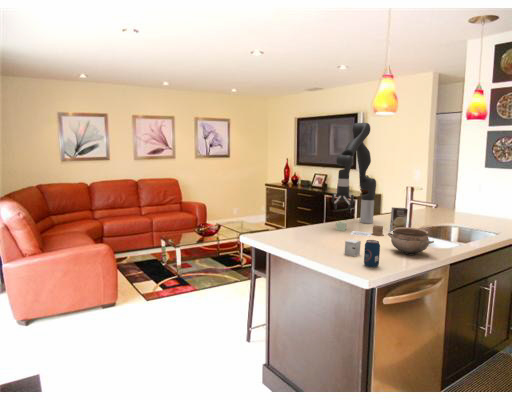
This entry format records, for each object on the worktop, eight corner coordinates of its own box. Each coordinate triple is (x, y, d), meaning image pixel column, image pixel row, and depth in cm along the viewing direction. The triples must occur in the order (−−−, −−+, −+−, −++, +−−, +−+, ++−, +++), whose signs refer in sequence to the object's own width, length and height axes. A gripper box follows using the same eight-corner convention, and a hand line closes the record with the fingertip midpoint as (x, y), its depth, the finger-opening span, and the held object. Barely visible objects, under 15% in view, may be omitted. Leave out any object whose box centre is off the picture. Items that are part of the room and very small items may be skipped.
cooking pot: (378, 251, 214) (380, 229, 212) (395, 245, 227) (396, 224, 225) (424, 261, 196) (426, 237, 194) (439, 254, 209) (441, 232, 207)
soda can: (360, 264, 189) (361, 240, 188) (371, 262, 192) (373, 239, 190) (370, 268, 183) (371, 243, 181) (381, 266, 186) (383, 242, 184)
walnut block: (373, 233, 256) (374, 225, 255) (382, 234, 254) (382, 226, 253) (372, 235, 251) (372, 226, 250) (381, 236, 249) (381, 227, 248)
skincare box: (344, 254, 207) (344, 240, 206) (349, 252, 211) (350, 238, 210) (354, 256, 203) (355, 242, 202) (360, 254, 207) (360, 240, 206)
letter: (352, 231, 263) (352, 230, 263) (372, 233, 257) (372, 232, 257) (349, 234, 252) (349, 234, 252) (369, 237, 247) (369, 236, 246)
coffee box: (391, 232, 260) (393, 208, 258) (389, 230, 267) (391, 207, 265) (406, 233, 260) (407, 209, 257) (403, 231, 266) (405, 207, 264)
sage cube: (337, 229, 268) (338, 221, 268) (346, 230, 266) (346, 222, 265) (336, 230, 263) (336, 222, 263) (344, 231, 261) (344, 223, 260)
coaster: (371, 233, 258) (371, 232, 258) (384, 234, 254) (384, 234, 254) (370, 235, 250) (370, 235, 250) (383, 237, 247) (383, 236, 247)
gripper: (355, 185, 261) (353, 209, 263) (334, 184, 267) (332, 207, 269) (353, 186, 254) (351, 211, 256) (331, 185, 260) (330, 209, 262)
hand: (342, 209), depth 263 cm, fingers open, 8 cm apart
